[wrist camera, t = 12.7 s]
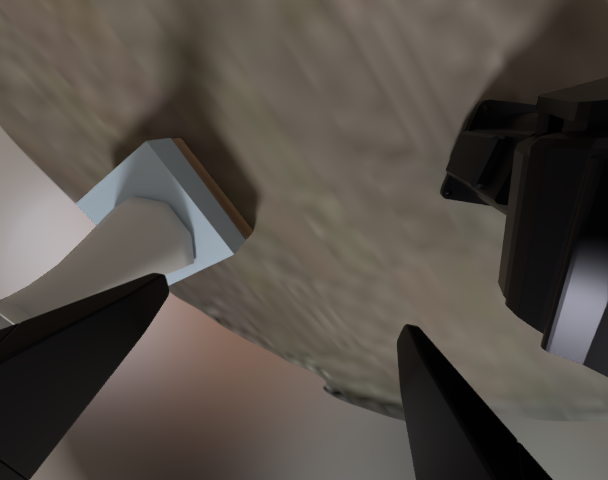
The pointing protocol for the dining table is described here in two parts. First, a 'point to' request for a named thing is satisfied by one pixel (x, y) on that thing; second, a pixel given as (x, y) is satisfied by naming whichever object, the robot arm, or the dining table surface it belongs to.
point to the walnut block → (214, 189)
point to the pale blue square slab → (169, 201)
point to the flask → (107, 259)
